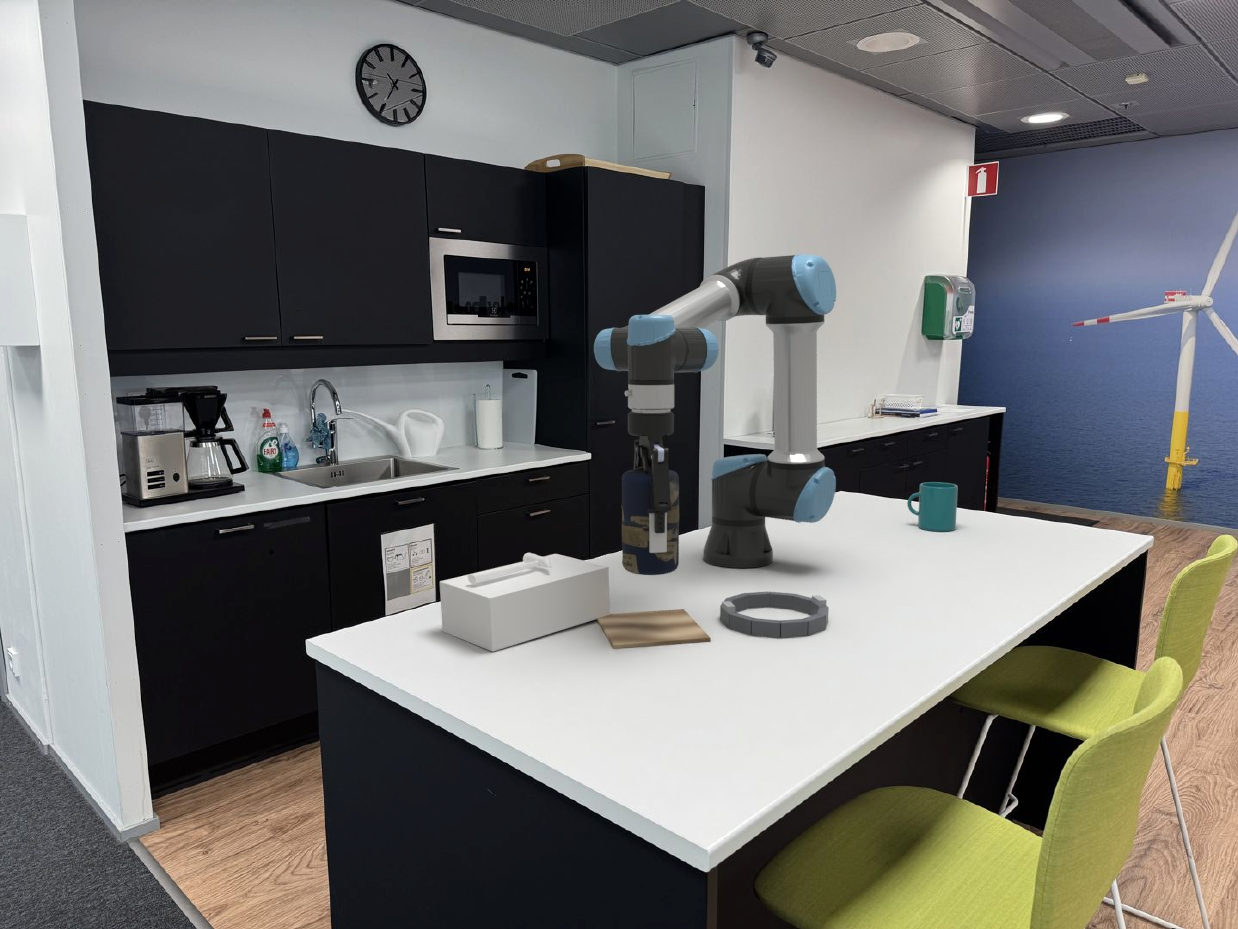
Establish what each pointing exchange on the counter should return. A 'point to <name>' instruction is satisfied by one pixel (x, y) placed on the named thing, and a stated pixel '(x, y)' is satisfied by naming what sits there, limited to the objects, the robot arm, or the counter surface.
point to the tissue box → (524, 600)
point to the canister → (647, 525)
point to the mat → (651, 628)
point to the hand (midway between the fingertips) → (650, 544)
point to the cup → (936, 506)
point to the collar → (775, 627)
